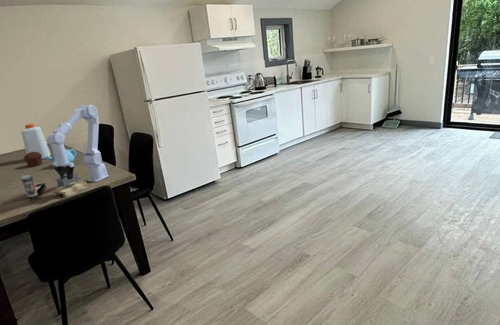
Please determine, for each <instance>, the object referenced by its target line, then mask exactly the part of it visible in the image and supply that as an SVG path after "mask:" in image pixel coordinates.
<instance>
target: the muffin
mask: <svg viewBox="0 0 500 325" xmlns="http://www.w3.org/2000/svg"><path fill="white" fill-rule="evenodd" d="M41 156H42V155H41V154H40V153H39V152H30V153H27V154H25V155H24V157H23V159H24V161H25V163H26V165H27V166H28V167H29V168H33V167H38V166H41V165H42V164H43V159H42V157H41Z"/></svg>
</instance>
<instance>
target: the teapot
mask: <svg viewBox="0 0 500 325" xmlns="http://www.w3.org/2000/svg"><path fill="white" fill-rule="evenodd" d="M65 151H66V154H67V158H68V161H69V162H72V163H74V161H75V158H76V157H77V156H78V153H77V151H76V149H75V148H72V149H69V148H68V149H66V148H65ZM72 152H73V153H72ZM46 159H47V160H49V161H50V162H52V163H54V162H56V160H55V157H54V156H53V157H52V156H51V155H50V156H48V155H47V156H46Z"/></svg>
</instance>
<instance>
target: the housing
mask: <svg viewBox="0 0 500 325" xmlns="http://www.w3.org/2000/svg"><path fill="white" fill-rule="evenodd" d="M80 179H81V177H79V175H78V173H77V172H73V179H70V180H69V179H68V177H67V174H64V176H61V177H60V176H58V177H57V178H55V180H56V183H57V185H56V187H57V188H59V187H62V186H66V185H68V184H70V183H73V182H75V181H80Z"/></svg>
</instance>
